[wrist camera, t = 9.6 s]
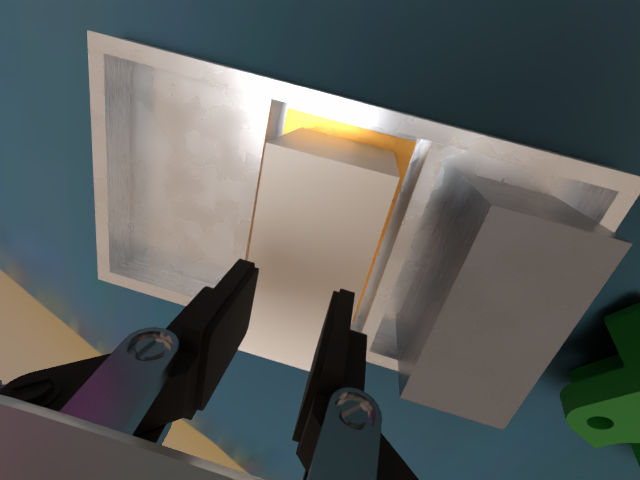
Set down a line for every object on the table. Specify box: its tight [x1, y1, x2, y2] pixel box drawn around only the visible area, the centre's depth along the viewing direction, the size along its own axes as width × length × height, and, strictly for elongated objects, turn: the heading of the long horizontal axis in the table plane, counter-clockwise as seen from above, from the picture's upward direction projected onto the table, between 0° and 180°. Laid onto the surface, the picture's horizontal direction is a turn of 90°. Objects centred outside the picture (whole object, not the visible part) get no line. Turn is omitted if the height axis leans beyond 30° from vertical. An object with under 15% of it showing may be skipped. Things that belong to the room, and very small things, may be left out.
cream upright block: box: [238, 127, 400, 371], centre depth 17 cm, size 10×5×6 cm, turn 167°
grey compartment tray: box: [87, 30, 640, 430], centre depth 18 cm, size 26×14×6 cm, turn 76°
